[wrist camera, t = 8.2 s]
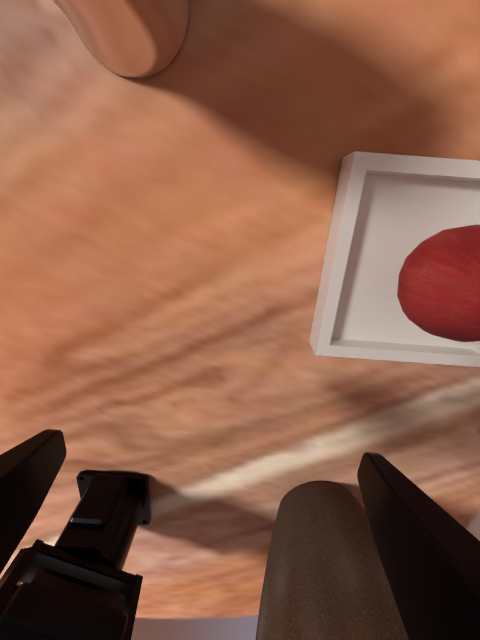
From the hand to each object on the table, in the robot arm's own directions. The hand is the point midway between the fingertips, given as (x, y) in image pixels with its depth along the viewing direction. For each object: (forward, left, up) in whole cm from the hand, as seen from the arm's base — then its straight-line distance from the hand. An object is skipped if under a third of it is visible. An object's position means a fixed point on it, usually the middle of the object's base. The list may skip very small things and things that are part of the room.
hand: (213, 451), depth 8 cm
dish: (+4, -12, -12) cm, 18 cm away
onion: (+4, -12, -12) cm, 17 cm away
